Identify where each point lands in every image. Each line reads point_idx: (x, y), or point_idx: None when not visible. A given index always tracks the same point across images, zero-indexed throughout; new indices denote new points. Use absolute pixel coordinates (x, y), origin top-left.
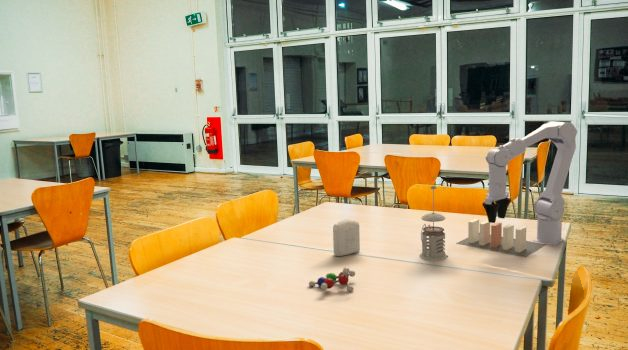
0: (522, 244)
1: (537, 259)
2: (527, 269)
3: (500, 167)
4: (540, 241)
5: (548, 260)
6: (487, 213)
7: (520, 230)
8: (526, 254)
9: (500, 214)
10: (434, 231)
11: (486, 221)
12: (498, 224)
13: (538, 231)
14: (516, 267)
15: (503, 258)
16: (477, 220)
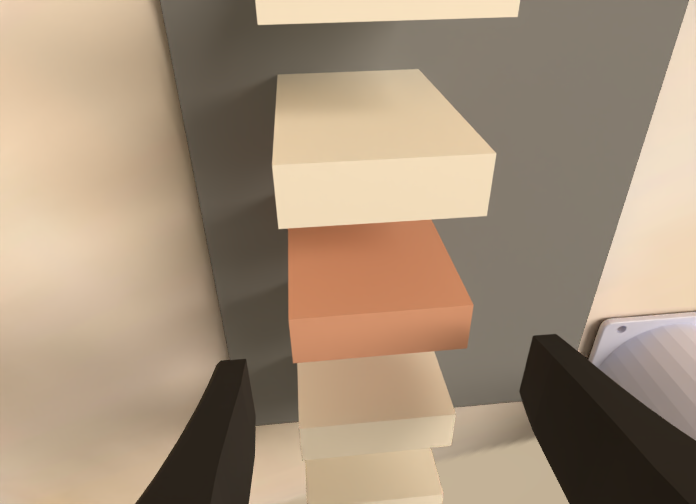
0: None
1: (276, 452)
2: (85, 483)
3: None
4: (604, 362)
5: (299, 481)
6: (159, 488)
7: None
8: (293, 410)
9: (553, 397)
10: None
11: (451, 181)
12: (381, 354)
13: (661, 397)
14: (61, 447)
15: (140, 345)
16: (458, 17)
